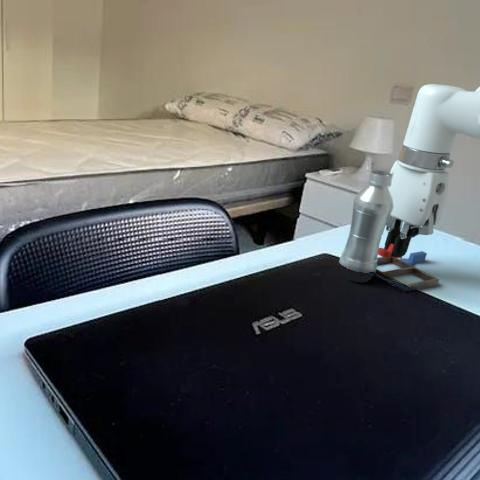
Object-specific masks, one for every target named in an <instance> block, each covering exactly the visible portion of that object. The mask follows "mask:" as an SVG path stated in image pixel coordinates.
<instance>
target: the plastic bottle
mask: <svg viewBox="0 0 480 480" xmlns="http://www.w3.org/2000/svg"><path fill="white" fill-rule="evenodd" d="M392 178H393V174H391V173H390V171H389V172H388V171H385V170H377V169H373V170H370V172H369V175H368V178H367V180H366V182H367V183H368V184H367V185H366V186H364V187H363V188H362V189H361V190H360V191H359V192H358V193H357V194H356V196H355V197H354V199H353V204H352V214H351V223H350V230H349V232H348V236H347V239H346V243H345V246H344V249H343V251H342V253H341V255H340V257H339V260H338V262H339V263H340V264H341V265H342V266H344V267H346V268H347V269H350V270H353V271H356V272H363V273H369V272H374V273H375V272H376V269H377V267H378V265H377V258H378V256H379V255H378V250H379V248H380V244H381V239H382V236H383V235H384V231H385V229H386V226H387V225H386V224H387V222H388V219H389V217H390V215H391V213H392V210H393V207H394V205H393V199H392V196H391V194H390V191H389V187H390V186H391V184H392V183H391V181H392Z"/></svg>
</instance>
